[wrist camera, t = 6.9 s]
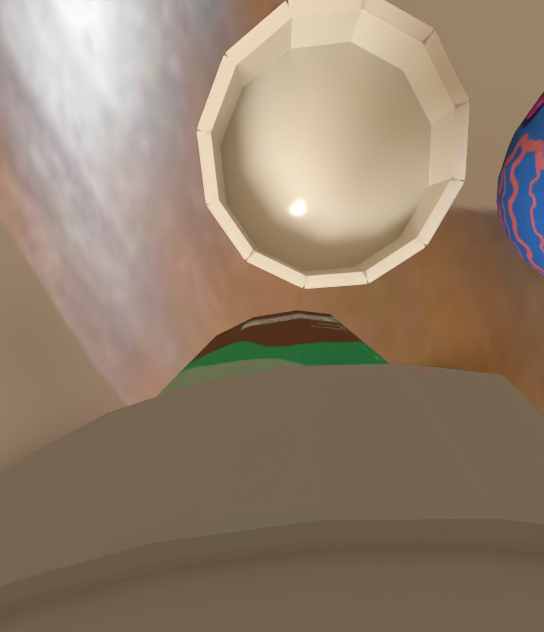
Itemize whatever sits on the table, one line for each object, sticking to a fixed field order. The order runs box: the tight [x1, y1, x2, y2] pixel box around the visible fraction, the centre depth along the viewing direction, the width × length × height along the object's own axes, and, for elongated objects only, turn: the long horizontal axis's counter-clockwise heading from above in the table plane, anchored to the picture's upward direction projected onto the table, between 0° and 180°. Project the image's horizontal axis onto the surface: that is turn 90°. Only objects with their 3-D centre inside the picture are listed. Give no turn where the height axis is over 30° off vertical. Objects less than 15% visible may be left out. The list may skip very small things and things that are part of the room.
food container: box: [0, 311, 544, 632], centre depth 7 cm, size 12×6×10 cm, turn 169°
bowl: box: [197, 0, 470, 289], centre depth 25 cm, size 19×19×4 cm
